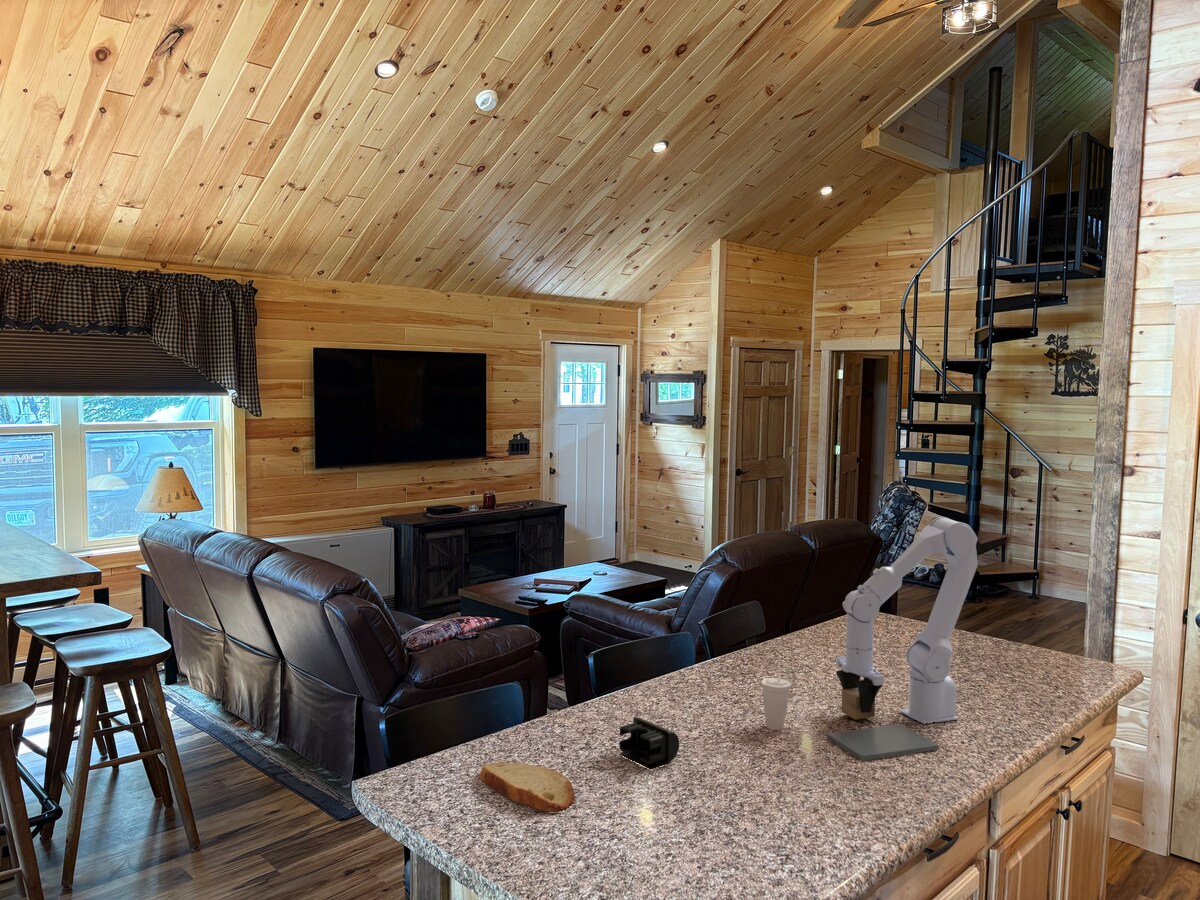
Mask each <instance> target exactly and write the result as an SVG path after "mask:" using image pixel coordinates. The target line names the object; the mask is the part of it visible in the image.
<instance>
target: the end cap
mask: <svg viewBox="0 0 1200 900" xmlns="http://www.w3.org/2000/svg"><path fill="white" fill-rule="evenodd" d="M627 734H630V736H629V738H626V739H625V738H624V739H622V740H619V750H620V751H621V752H620V756H621V755H622V756H624V757H626V758H628V759H630V760H632V761H635V762H637V763H639V764H641V765H643V766H645V767H647V768H649V769H653V768H656V767H659V766H662V765H665V764H668V763H669V762H670V763H671V762H672V761H674V759H675V758H676V756H677V754H678V752H679V749H680V738H679V736H678V735H677V734H676V732H674V731H671V730H669V729H668V728H664V727H662V726H660V725H657V724H655V723H653V722H650V721H648V720H646V719H643V718H641V717H638V716H637V717H633V722H632V723H629V724H625V725H622V726H620V727H619V735H620V736H623V735H627ZM670 763H669V764H670ZM669 764H668V765H669Z"/></svg>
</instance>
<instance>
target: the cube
mask: <svg viewBox="0 0 1200 900" xmlns="http://www.w3.org/2000/svg"><path fill="white" fill-rule="evenodd" d="M841 713H843V714H845V715H847V716H848V717H850V718H851V719H853V720H861V719H867V718H875V715H876V699H875V700H874V703H873V706H872V709H871V712H866V713H862V712H861V708H860V696H859V691H858V688H850V689H843V688H842V690H841Z"/></svg>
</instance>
